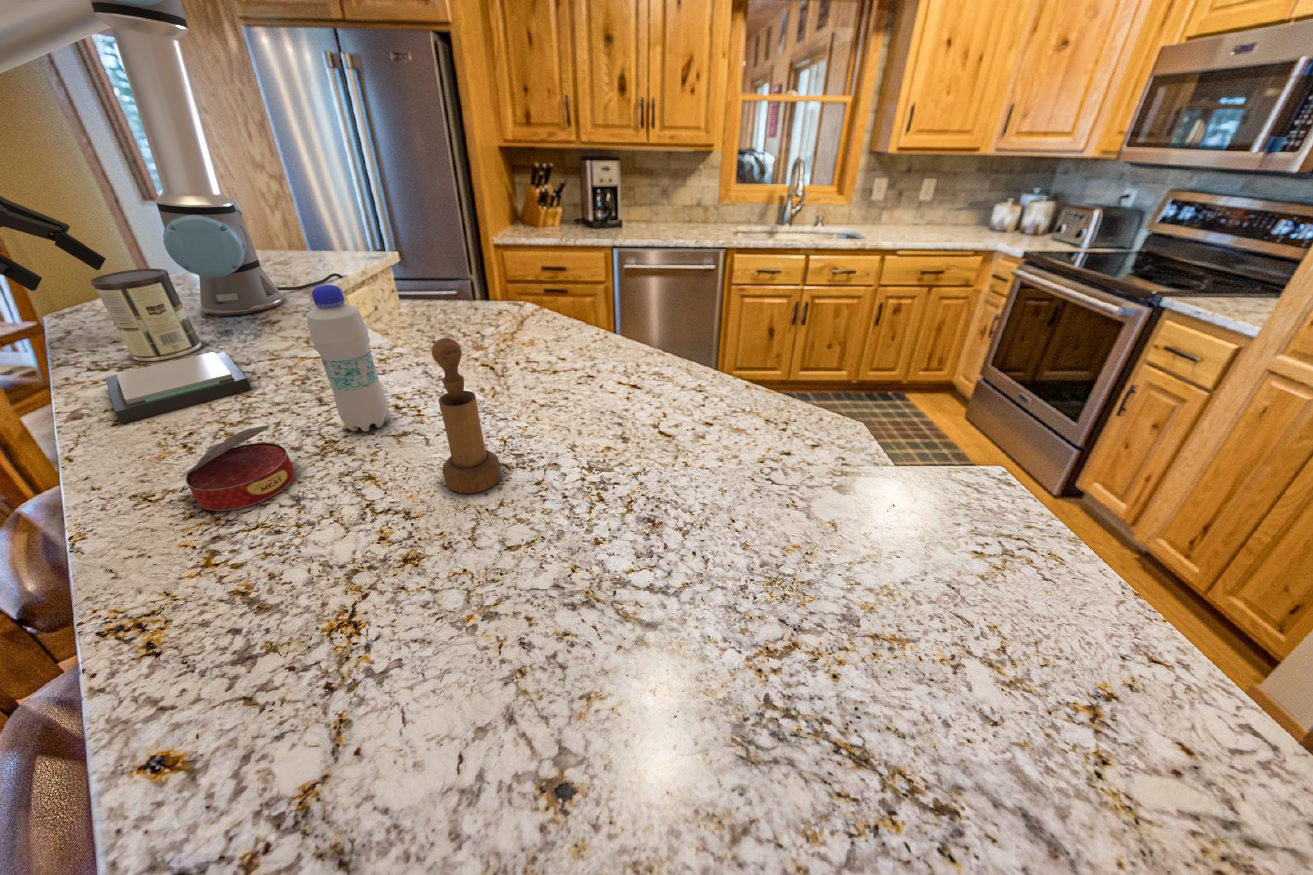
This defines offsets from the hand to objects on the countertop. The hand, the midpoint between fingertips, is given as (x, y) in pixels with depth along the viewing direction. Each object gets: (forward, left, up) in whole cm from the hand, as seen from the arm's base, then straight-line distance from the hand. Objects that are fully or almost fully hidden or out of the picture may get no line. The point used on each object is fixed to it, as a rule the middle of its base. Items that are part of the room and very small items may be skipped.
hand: (71, 273), depth 91 cm
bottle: (-23, +60, -15) cm, 66 cm away
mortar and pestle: (-27, +83, -15) cm, 89 cm away
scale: (-6, +27, -15) cm, 32 cm away
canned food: (-7, +65, -15) cm, 67 cm away
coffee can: (-7, +5, -15) cm, 17 cm away
